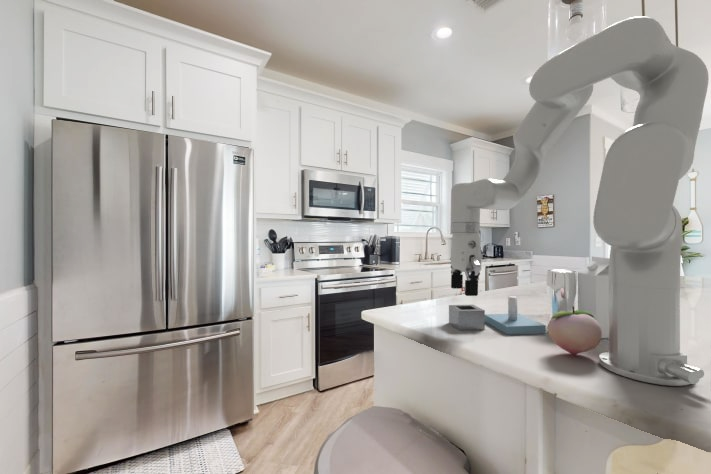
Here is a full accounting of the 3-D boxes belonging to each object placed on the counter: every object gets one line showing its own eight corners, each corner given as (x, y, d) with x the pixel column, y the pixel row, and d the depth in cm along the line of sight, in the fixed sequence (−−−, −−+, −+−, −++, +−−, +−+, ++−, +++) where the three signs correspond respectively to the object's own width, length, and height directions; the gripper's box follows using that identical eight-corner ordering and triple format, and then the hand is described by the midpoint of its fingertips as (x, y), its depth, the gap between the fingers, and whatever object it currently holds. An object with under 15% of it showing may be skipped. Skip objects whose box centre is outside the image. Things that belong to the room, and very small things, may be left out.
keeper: (545, 333, 79) (545, 301, 79) (507, 334, 78) (506, 302, 78) (517, 320, 91) (517, 292, 91) (484, 321, 90) (484, 293, 90)
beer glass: (540, 325, 86) (540, 270, 86) (557, 321, 89) (556, 268, 89) (567, 332, 80) (566, 272, 80) (583, 328, 83) (583, 271, 83)
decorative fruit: (577, 367, 59) (576, 313, 59) (541, 351, 67) (539, 304, 67) (614, 359, 62) (613, 308, 61) (575, 346, 69) (573, 300, 69)
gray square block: (484, 329, 82) (484, 310, 82) (458, 330, 82) (458, 311, 82) (473, 322, 89) (473, 304, 89) (448, 322, 89) (448, 305, 89)
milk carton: (607, 330, 81) (606, 256, 81) (628, 339, 74) (628, 258, 74) (577, 329, 82) (577, 256, 81) (595, 338, 74) (595, 258, 74)
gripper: (494, 229, 77) (492, 298, 78) (465, 229, 95) (464, 285, 95) (464, 229, 77) (463, 299, 77) (440, 229, 94) (439, 286, 95)
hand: (463, 291), depth 86 cm, fingers open, 9 cm apart
